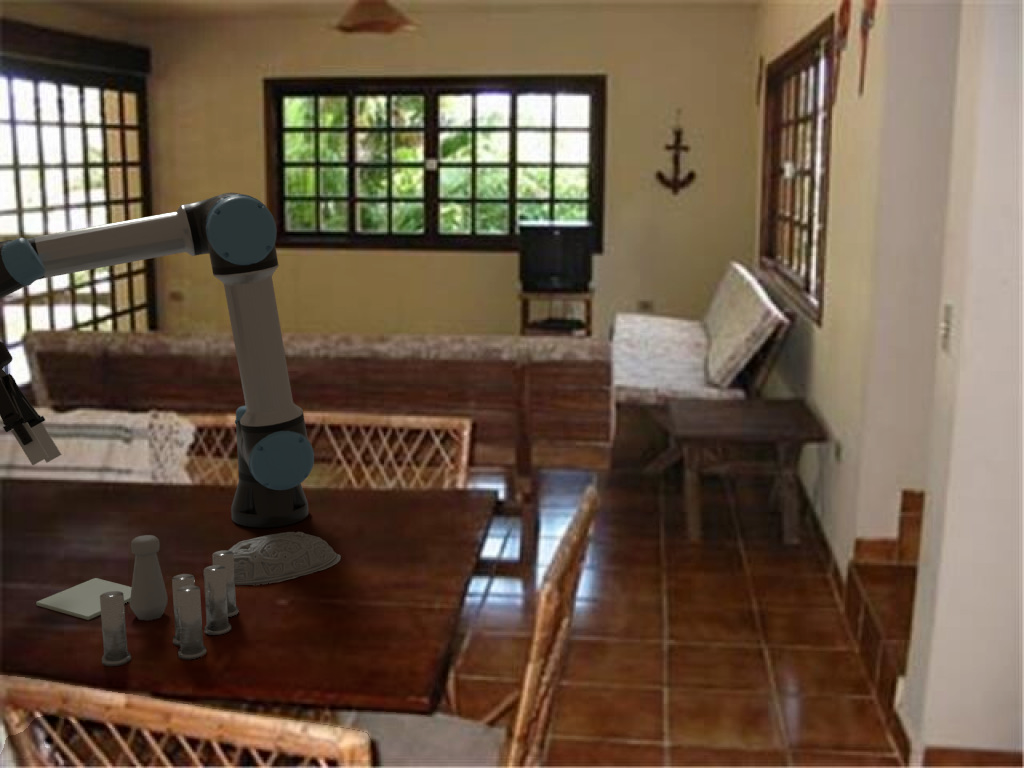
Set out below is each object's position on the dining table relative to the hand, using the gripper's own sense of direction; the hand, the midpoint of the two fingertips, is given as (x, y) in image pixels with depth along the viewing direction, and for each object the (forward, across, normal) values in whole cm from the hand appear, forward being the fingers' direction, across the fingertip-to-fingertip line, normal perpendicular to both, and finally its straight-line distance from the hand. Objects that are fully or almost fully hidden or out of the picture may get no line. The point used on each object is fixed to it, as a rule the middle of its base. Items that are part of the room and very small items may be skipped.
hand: (47, 460), depth 193 cm
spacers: (+34, +24, +6) cm, 42 cm away
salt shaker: (+30, +14, +3) cm, 33 cm away
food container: (+36, -3, +22) cm, 42 cm away
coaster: (+24, +6, -5) cm, 25 cm away
